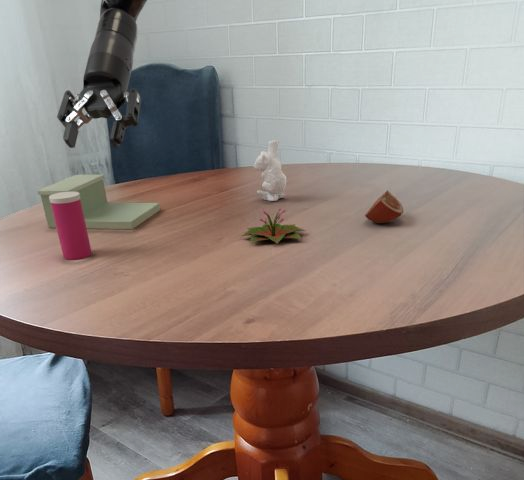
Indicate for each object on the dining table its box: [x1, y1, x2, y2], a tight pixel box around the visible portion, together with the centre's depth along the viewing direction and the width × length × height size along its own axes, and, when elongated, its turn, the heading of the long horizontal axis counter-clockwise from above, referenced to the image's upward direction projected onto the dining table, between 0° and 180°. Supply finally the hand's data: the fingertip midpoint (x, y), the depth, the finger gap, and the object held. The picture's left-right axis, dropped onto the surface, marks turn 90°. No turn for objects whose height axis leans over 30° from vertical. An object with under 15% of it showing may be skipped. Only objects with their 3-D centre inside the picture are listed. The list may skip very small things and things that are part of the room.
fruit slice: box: [364, 189, 404, 224], centre depth 97 cm, size 8×7×5 cm
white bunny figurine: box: [253, 139, 288, 202], centre depth 115 cm, size 8×7×12 cm
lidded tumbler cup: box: [49, 192, 93, 261], centre depth 88 cm, size 5×5×10 cm
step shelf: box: [36, 174, 161, 230], centre depth 109 cm, size 15×18×7 cm
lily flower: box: [241, 208, 307, 245], centre depth 93 cm, size 12×12×5 cm
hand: (91, 144), depth 93 cm, fingers open, 8 cm apart
